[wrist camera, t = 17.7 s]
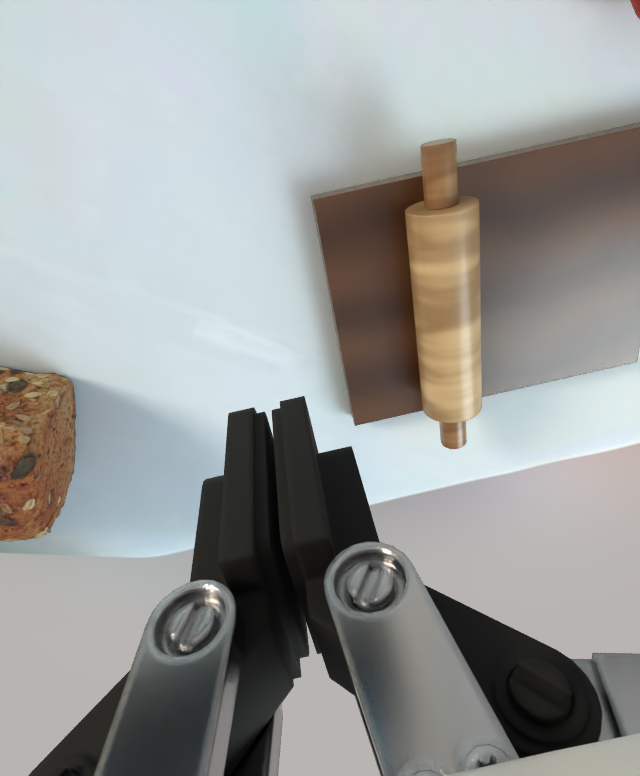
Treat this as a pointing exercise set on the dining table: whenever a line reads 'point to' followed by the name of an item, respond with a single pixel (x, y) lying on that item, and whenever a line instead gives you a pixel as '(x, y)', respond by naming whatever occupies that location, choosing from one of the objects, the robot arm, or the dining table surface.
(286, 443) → the robot arm
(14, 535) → the bread
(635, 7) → the onion
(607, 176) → the pastry board
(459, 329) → the rolling pin
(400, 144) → the dining table surface
